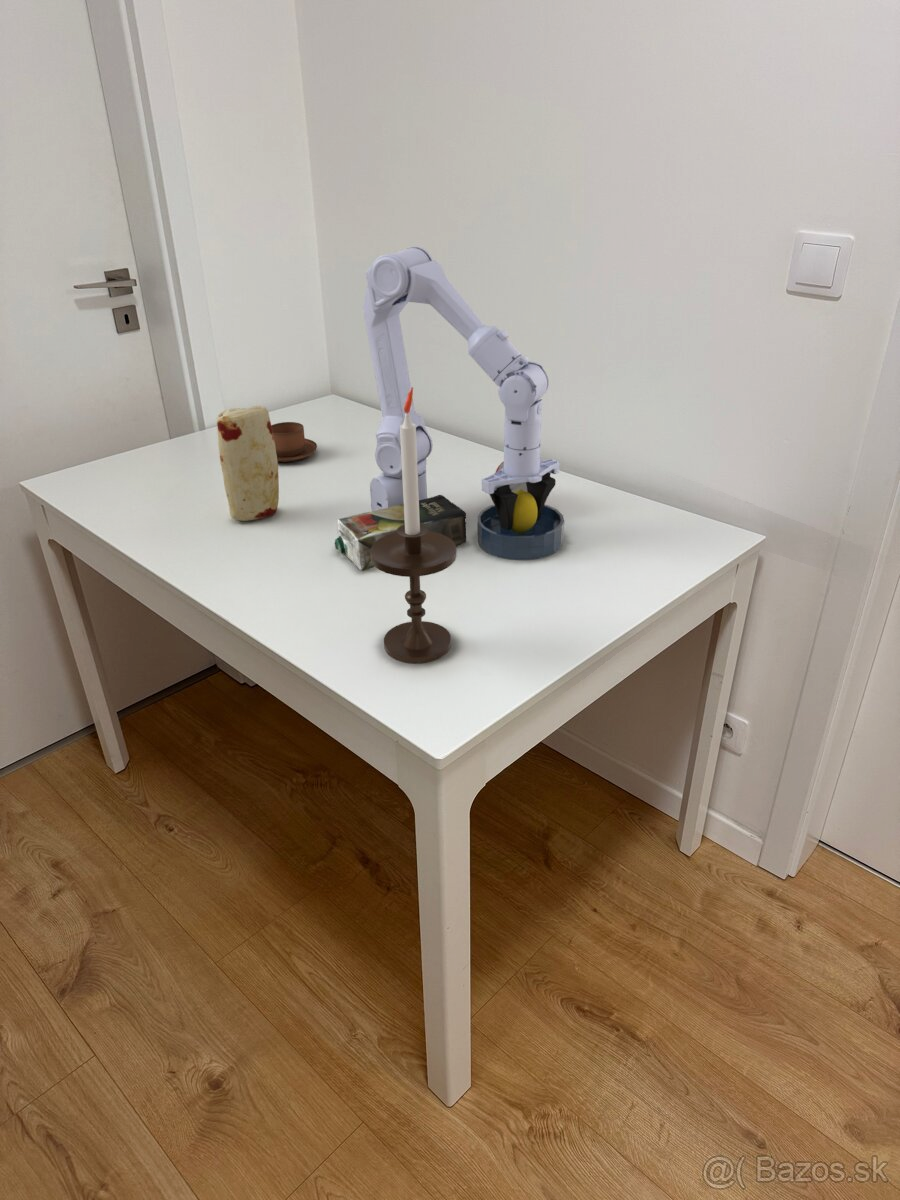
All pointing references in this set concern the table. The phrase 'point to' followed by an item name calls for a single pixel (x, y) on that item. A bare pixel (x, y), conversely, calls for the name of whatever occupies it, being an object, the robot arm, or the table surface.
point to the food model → (248, 462)
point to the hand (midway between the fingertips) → (520, 523)
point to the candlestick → (413, 563)
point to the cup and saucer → (291, 442)
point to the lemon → (524, 512)
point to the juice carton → (374, 525)
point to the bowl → (527, 546)
